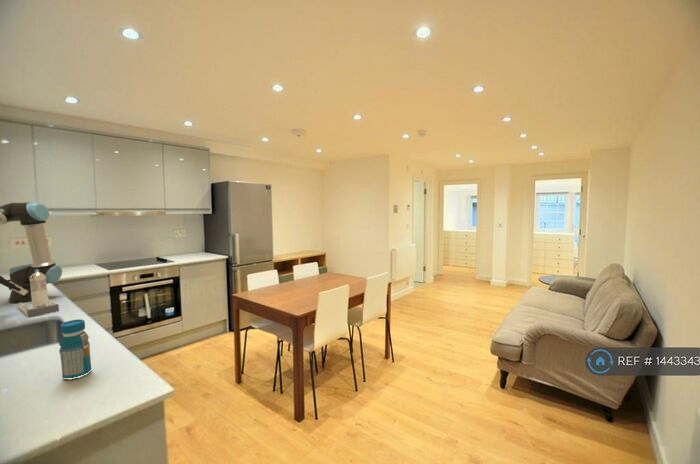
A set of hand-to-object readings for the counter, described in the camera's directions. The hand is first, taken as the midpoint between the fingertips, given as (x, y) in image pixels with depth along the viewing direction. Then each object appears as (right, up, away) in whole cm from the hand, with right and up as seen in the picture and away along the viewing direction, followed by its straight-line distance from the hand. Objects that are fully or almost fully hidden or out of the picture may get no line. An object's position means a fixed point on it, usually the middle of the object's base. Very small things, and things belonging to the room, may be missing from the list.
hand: (23, 291), depth 179 cm
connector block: (+8, -14, +3) cm, 16 cm away
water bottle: (+4, -13, +7) cm, 15 cm away
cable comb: (-2, -13, +11) cm, 17 cm away
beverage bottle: (+84, -19, -62) cm, 107 cm away
